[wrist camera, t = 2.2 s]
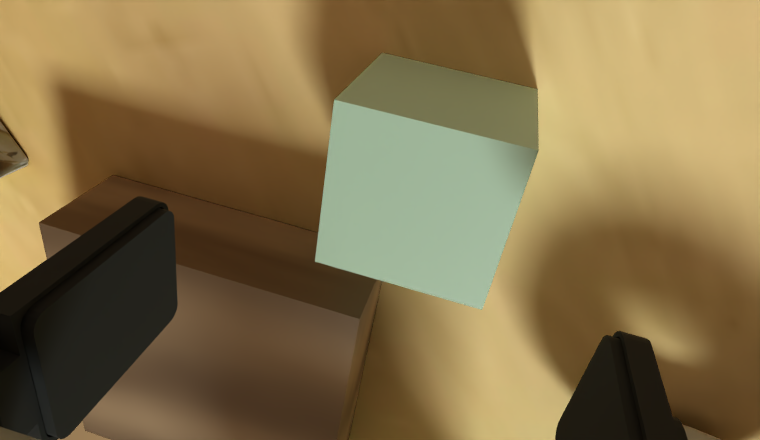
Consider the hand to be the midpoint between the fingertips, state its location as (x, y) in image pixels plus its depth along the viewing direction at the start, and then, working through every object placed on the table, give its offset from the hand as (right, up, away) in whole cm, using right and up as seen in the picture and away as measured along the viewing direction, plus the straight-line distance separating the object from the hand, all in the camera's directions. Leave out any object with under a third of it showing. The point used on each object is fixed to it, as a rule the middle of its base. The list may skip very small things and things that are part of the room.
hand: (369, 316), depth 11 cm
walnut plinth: (-6, -3, +13) cm, 15 cm away
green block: (+2, +5, +7) cm, 9 cm away
